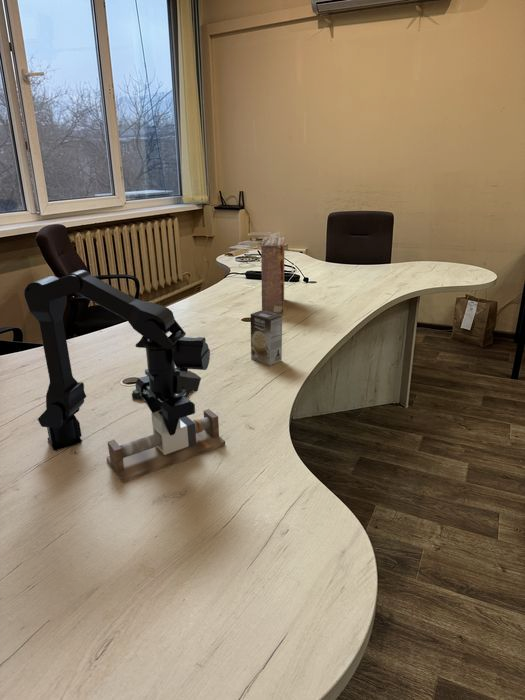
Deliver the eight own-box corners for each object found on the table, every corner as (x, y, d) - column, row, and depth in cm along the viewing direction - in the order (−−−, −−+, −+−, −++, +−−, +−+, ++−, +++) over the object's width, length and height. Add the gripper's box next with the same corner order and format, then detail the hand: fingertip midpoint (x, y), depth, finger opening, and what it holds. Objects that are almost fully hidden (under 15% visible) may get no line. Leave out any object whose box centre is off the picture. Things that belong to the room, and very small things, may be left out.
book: (265, 299, 236) (264, 236, 225) (284, 299, 235) (284, 236, 224) (261, 314, 212) (261, 245, 201) (283, 314, 212) (283, 245, 201)
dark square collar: (188, 446, 112) (187, 425, 110) (178, 436, 116) (176, 416, 114) (196, 443, 113) (194, 423, 111) (185, 433, 117) (184, 413, 115)
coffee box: (249, 359, 165) (249, 313, 159) (262, 353, 169) (262, 309, 164) (270, 366, 159) (269, 319, 153) (282, 360, 164) (283, 314, 158)
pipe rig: (122, 482, 102) (119, 456, 100) (106, 460, 110) (103, 436, 107) (225, 444, 115) (224, 420, 113) (204, 427, 123) (203, 404, 121)
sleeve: (164, 455, 109) (161, 422, 106) (154, 444, 113) (151, 413, 110) (188, 446, 112) (186, 414, 109) (178, 436, 116) (175, 405, 113)
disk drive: (194, 390, 145) (147, 385, 148) (193, 381, 144) (147, 376, 147) (180, 406, 135) (131, 400, 138) (180, 397, 134) (130, 391, 137)
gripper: (215, 371, 102) (218, 436, 108) (176, 345, 116) (180, 404, 122) (166, 384, 96) (172, 452, 102) (131, 355, 110) (138, 416, 116)
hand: (166, 429), depth 111 cm, fingers closed on sleeve, 5 cm apart
